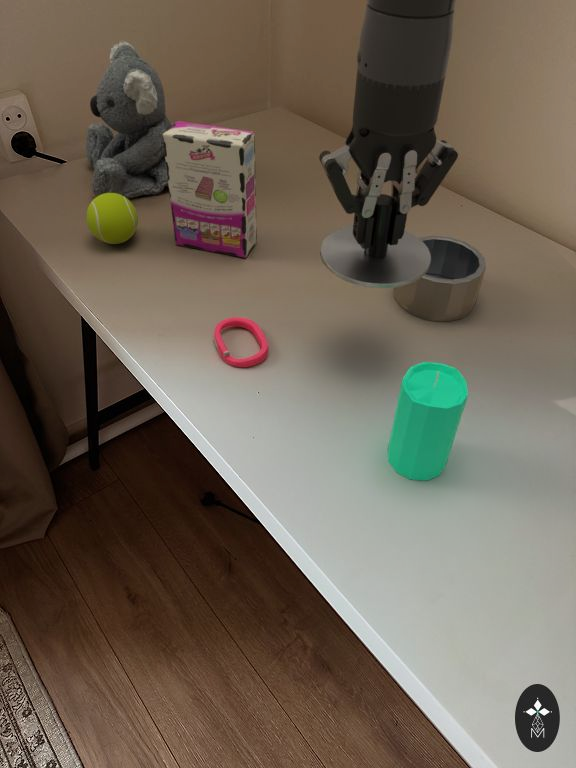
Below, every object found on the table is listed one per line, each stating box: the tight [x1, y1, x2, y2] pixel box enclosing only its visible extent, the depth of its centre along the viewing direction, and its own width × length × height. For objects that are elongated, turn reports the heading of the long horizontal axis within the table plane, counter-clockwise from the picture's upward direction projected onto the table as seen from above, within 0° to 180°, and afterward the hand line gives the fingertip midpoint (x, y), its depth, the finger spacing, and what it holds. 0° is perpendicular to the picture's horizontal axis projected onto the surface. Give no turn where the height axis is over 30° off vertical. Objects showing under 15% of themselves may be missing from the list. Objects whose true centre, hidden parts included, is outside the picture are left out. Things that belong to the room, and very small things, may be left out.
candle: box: [387, 361, 469, 482], centre depth 61 cm, size 6×6×12 cm
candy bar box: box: [163, 120, 258, 258], centre depth 87 cm, size 11×5×16 cm, turn 73°
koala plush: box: [85, 39, 174, 200], centre depth 100 cm, size 17×18×20 cm
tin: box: [393, 235, 487, 322], centre depth 82 cm, size 11×11×6 cm
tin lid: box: [319, 193, 431, 289], centre depth 65 cm, size 12×12×7 cm
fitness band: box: [212, 316, 269, 368], centre depth 76 cm, size 8×6×2 cm
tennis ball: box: [86, 193, 139, 245], centre depth 90 cm, size 7×7×7 cm
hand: (377, 242), depth 66 cm, fingers closed on tin lid, 2 cm apart
